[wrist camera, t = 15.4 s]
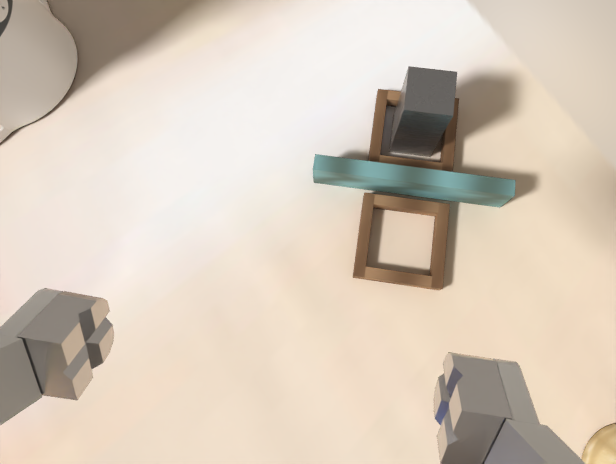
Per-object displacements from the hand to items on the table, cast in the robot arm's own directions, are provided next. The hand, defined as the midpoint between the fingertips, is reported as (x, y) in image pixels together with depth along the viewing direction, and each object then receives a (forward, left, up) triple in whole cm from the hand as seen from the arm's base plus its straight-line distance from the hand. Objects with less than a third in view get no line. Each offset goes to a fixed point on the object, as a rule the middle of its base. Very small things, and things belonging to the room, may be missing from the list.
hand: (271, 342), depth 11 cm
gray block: (+7, +21, -31) cm, 39 cm away
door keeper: (+7, +16, -31) cm, 36 cm away
